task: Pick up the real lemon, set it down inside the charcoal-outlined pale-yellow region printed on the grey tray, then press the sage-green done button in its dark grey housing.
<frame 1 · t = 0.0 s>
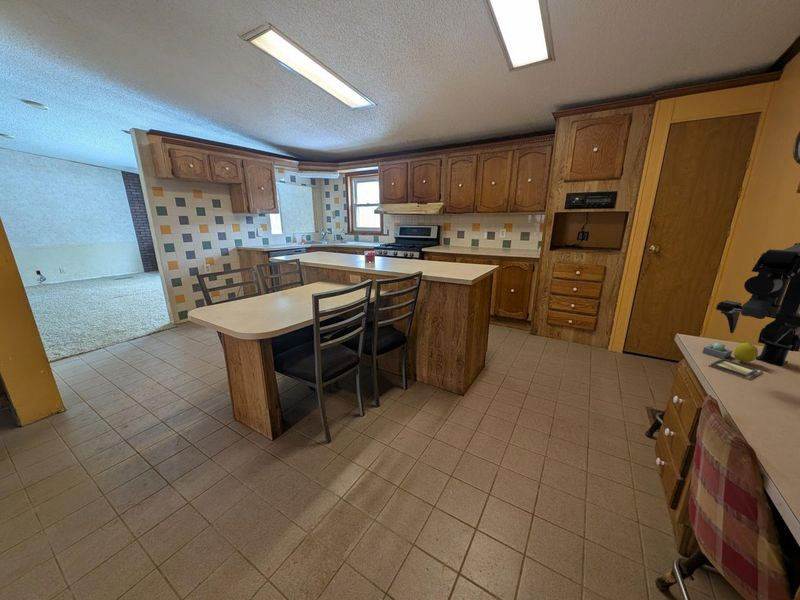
hand: (751, 338, 93), 15 cm above the table, fingers open, 9 cm apart
lemon: (741, 362, 107), on the table
button housing: (716, 354, 113), on the table
grey tray: (735, 369, 102), on the table
done button: (718, 348, 112), point 3 cm above the table, slide at 0.0 cm
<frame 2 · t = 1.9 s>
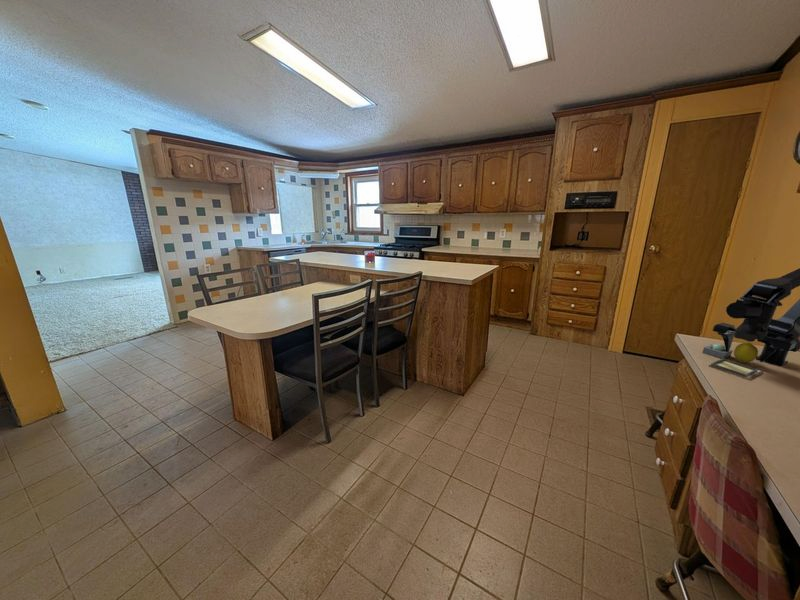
hand: (743, 356, 107), 2 cm above the table, fingers open, 8 cm apart
done button: (718, 349, 113), point 2 cm above the table, slide at -0.5 cm
everything else where it was.
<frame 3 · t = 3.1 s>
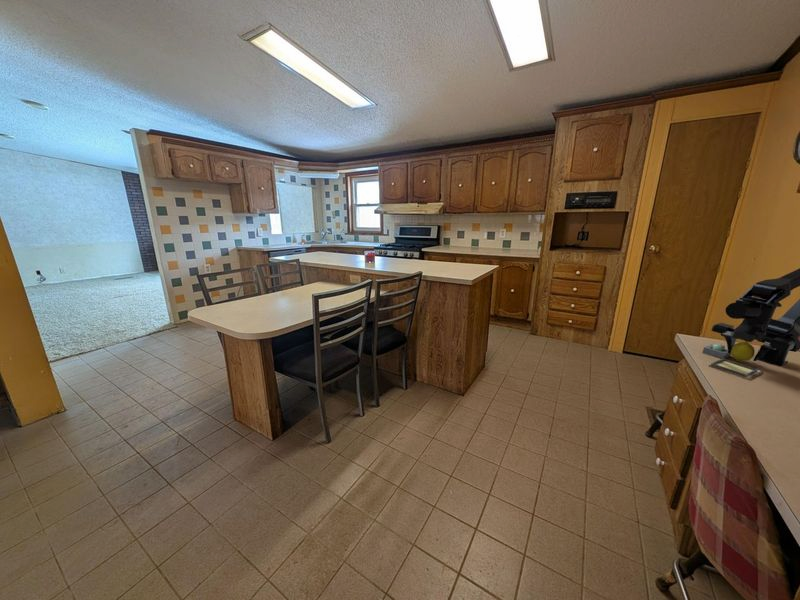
hand: (741, 356, 107), 2 cm above the table, fingers open, 6 cm apart
lemon: (738, 362, 108), on the table, touching gripper
everything else where it was.
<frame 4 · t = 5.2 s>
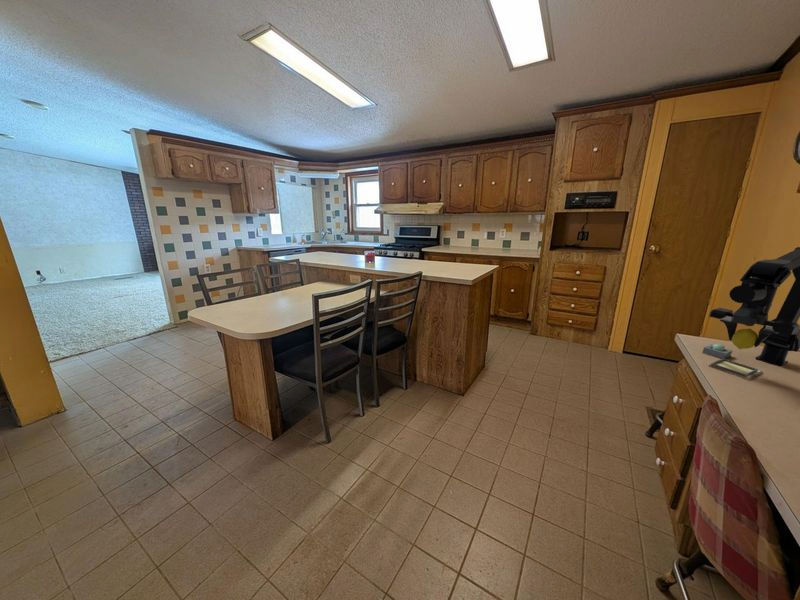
hand: (742, 343, 99), 10 cm above the table, fingers closed on lemon, 6 cm apart
lemon: (738, 349, 100), point 8 cm above the table, touching gripper
everything else where it was.
when the fingers open (3 cm above the table, at t = 6.9 s): lemon stays where it is, resting on grey tray.
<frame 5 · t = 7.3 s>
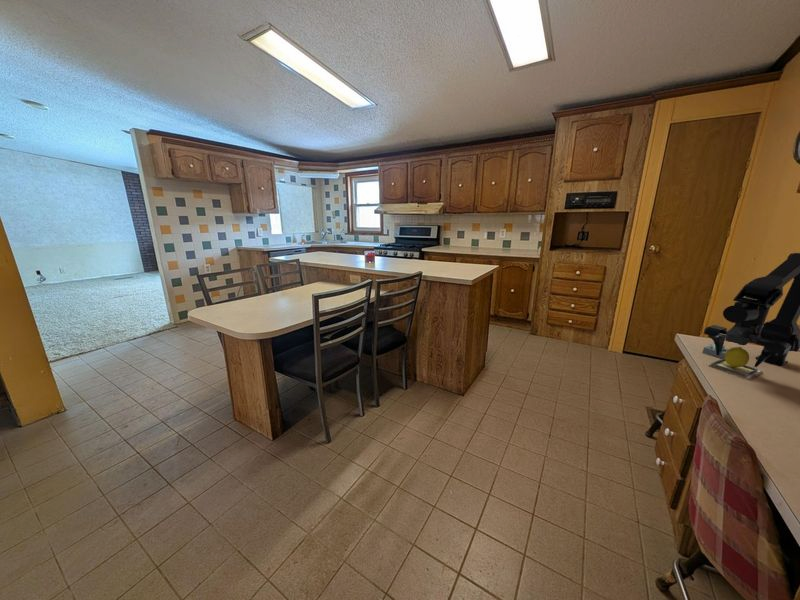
hand: (736, 360, 101), 3 cm above the table, fingers open, 9 cm apart
lemon: (732, 368, 102), point 1 cm above the table, touching grey tray
everything else where it was.
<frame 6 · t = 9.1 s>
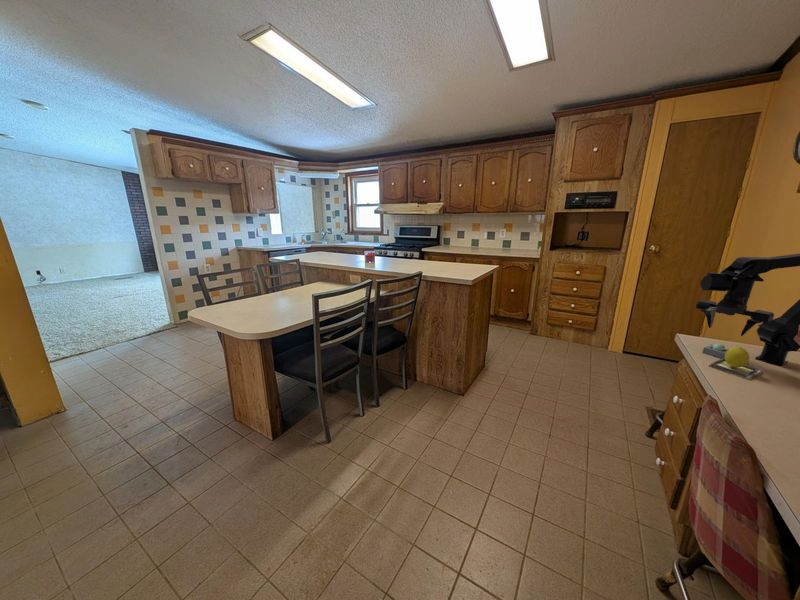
hand: (725, 331, 110), 10 cm above the table, fingers open, 8 cm apart
nothing on the table moved.
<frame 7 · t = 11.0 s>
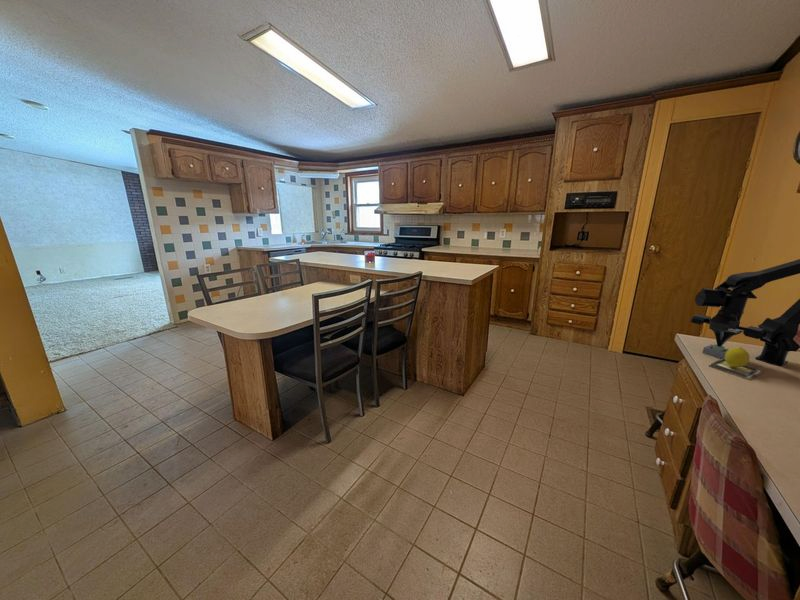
hand: (719, 346, 112), 4 cm above the table, fingers closed, pressing on done button
done button: (717, 349, 113), point 2 cm above the table, slide at -0.8 cm, touching gripper
everything else where it was.
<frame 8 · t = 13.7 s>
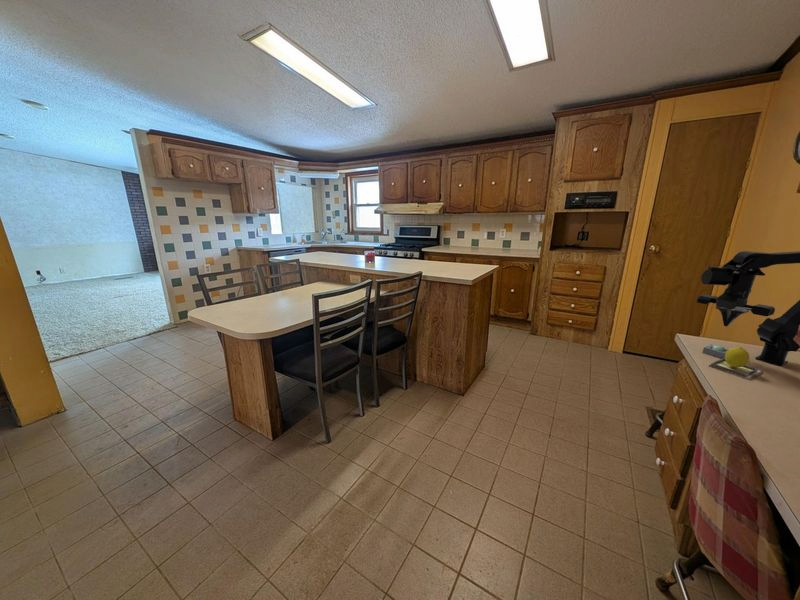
hand: (725, 326, 110), 12 cm above the table, fingers closed
done button: (717, 350, 113), point 2 cm above the table, slide at -1.1 cm
everything else where it was.
at the end: lemon 0.3 cm from the target spot, point 0.5 cm above the table; the gripper is holding nothing; done button slide at -1.1 cm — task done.
